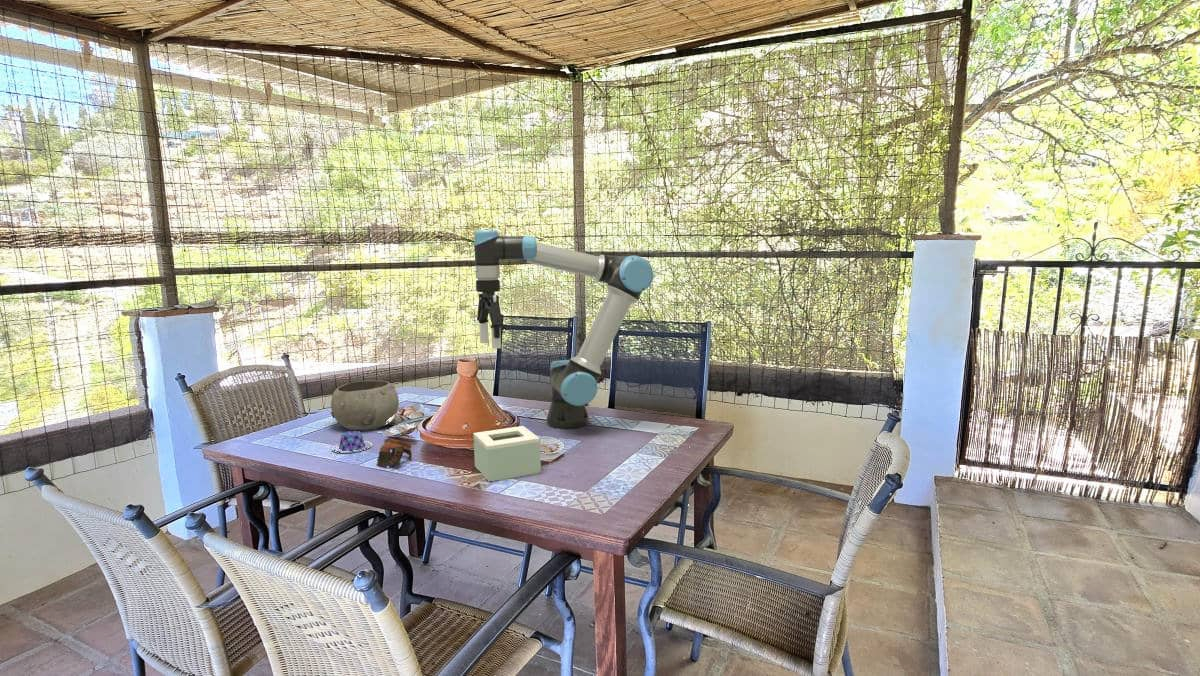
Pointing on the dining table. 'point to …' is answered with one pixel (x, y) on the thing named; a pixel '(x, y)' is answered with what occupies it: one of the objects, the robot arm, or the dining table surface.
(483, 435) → the slot box
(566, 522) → the dining table surface
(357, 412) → the bowl
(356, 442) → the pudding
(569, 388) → the robot arm
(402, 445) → the pottery mug
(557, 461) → the dining table surface
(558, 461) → the dining table surface
